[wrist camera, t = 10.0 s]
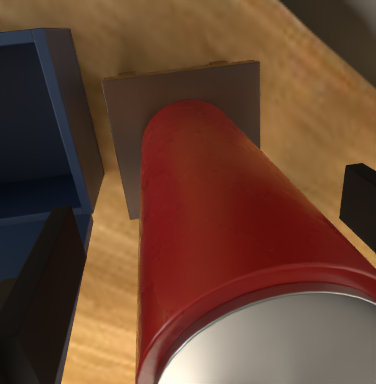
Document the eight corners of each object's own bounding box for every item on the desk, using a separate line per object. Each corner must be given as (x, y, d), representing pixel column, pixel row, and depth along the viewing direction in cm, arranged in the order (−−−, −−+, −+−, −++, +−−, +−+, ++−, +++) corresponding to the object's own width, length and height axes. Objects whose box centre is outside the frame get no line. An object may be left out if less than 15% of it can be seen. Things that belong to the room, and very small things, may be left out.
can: (133, 106, 21) (104, 308, 6) (234, 93, 21) (461, 249, 6) (149, 197, 24) (158, 490, 9) (238, 184, 24) (396, 443, 9)
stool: (112, 67, 27) (100, 81, 20) (230, 53, 28) (260, 61, 21) (133, 177, 32) (130, 220, 25) (234, 163, 32) (260, 200, 25)
